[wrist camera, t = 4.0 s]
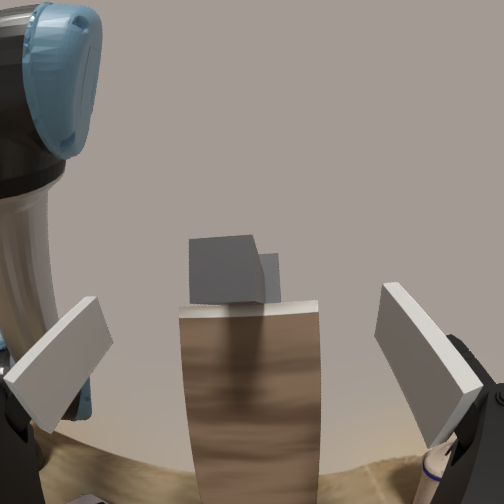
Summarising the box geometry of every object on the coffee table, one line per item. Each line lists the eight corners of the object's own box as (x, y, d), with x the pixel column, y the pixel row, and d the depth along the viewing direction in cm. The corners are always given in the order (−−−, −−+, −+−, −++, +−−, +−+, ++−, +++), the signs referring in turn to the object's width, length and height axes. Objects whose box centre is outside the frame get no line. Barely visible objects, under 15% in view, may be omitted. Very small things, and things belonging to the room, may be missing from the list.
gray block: (290, 298, 12) (281, 192, 13) (160, 303, 12) (161, 203, 13) (279, 303, 32) (277, 262, 33) (230, 306, 33) (228, 265, 34)
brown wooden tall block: (312, 539, 16) (317, 300, 22) (210, 539, 17) (178, 306, 23) (305, 497, 26) (304, 302, 32) (223, 498, 27) (205, 307, 33)
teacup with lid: (482, 503, 10) (509, 434, 12) (426, 536, 10) (454, 469, 13) (441, 472, 22) (455, 411, 24) (391, 492, 22) (403, 431, 24)
